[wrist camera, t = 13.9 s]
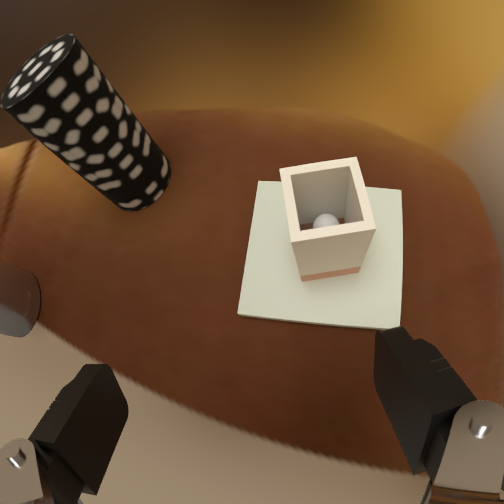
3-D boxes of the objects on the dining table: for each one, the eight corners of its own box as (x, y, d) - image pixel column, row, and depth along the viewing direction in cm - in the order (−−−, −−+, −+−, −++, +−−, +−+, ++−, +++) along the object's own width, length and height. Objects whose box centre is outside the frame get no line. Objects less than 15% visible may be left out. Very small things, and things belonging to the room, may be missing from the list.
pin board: (241, 315, 29) (216, 302, 22) (261, 188, 33) (245, 145, 26) (395, 330, 26) (419, 321, 19) (398, 197, 30) (414, 154, 23)
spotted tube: (135, 224, 35) (8, 120, 17) (102, 190, 38) (-5, 96, 19) (184, 169, 36) (89, 38, 17) (145, 142, 39) (58, 31, 20)
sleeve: (301, 281, 28) (291, 242, 18) (293, 228, 29) (279, 168, 20) (358, 272, 27) (376, 228, 18) (347, 219, 29) (356, 156, 19)
